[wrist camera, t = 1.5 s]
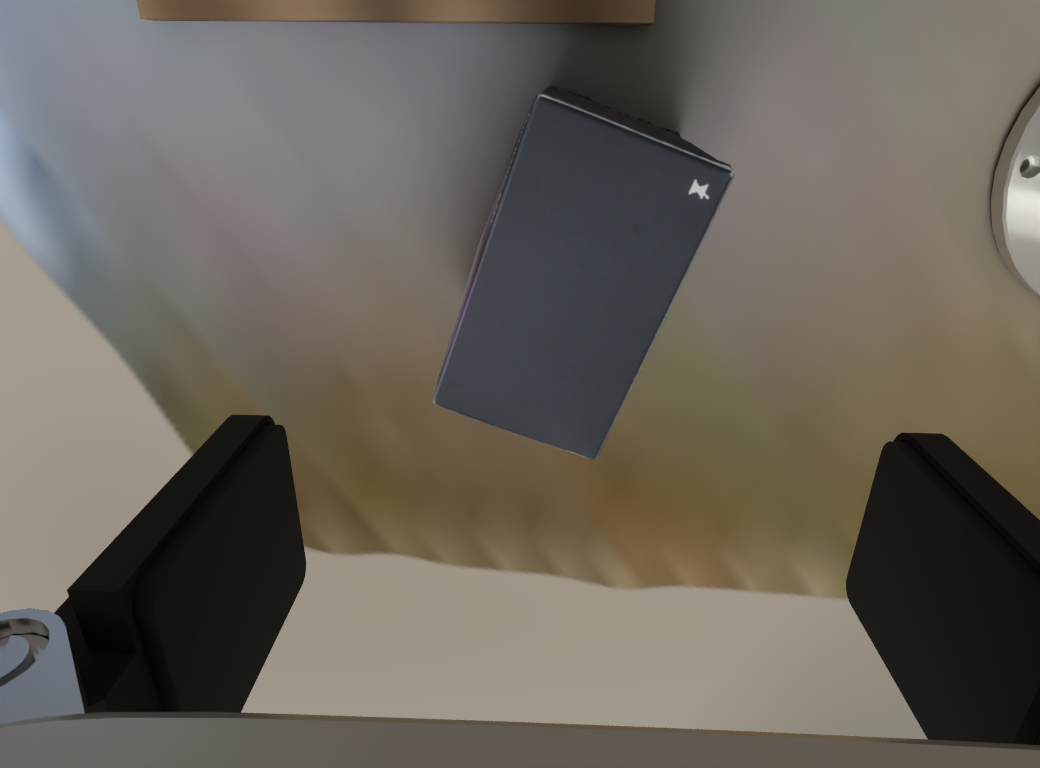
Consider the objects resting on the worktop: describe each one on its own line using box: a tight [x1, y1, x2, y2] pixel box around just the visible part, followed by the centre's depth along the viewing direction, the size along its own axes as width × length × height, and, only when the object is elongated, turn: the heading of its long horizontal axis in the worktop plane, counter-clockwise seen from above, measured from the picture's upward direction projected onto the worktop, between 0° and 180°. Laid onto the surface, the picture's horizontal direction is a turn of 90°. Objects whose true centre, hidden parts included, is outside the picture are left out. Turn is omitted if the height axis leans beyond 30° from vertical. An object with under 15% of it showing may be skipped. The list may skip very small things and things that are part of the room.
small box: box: [433, 86, 734, 460], centre depth 25 cm, size 11×6×10 cm, turn 160°
